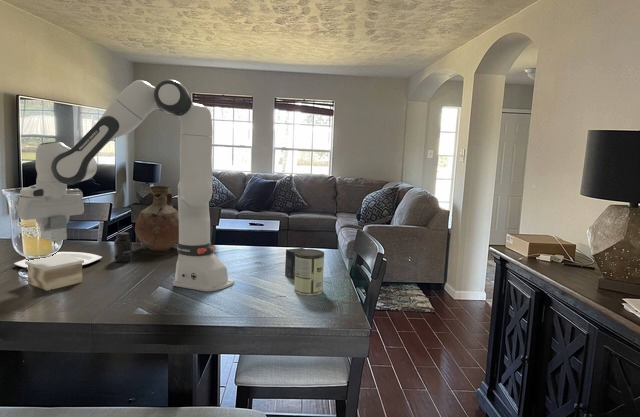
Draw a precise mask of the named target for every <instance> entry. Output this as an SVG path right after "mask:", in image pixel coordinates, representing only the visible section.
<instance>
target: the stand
mask: <svg viewBox="0 0 640 417" xmlns="http://www.w3.org/2000/svg"><path fill="white" fill-rule="evenodd" d="M82 263H84V260H82V259H78V258H75V257H72V256H68V255H65V254H63V255H57V256H51V257H46V258H40V259H34V260H29V261H25V264H27V265H28V269H27V280H28V281H27V282H28V284H29V285H31V286H33V287H36V288H39V289H42V290H44V291H51V289H52V290H54V289H55V290H56V289H59V288H63V287H68V286H72V285H76V284H80V283H83V265H82Z"/></svg>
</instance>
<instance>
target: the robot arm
mask: <svg viewBox="0 0 640 417" xmlns="http://www.w3.org/2000/svg"><path fill="white" fill-rule="evenodd" d="M156 110H159V111H161V112H164V113H166V114H168V115H171V116H177V118H178V119H179V122H180V131H179V132H180V135H179V140H180V141H179V182H178V184H177V209H178V210H177V211H178V216H179V241H178V242H177V246H176V249H177V251H176V252H177V254H178V256H177V261H176V266H175V275H174V280H173V282H172V286H174V287H179V288H184V289H189V290H196V291H201V292H214V291H220V290H222V289H226V288H228V287H231V286H232V285H234V284H235V280H234V279H232V278H230V277H229V276H228V275H229V274H228V269H227V266H226V265H225V264H224V263H223V262H222V261H221V260H220V259H219V257H217V255H216V254H215V252H214V250H215V248H216V247H217V246H216V245H215V246H214V245H212V242H211V218H210V215H211V214H210V203H209V202H210V201H211V199H212V196H213V164H212V162H213V134H214V132H213V131H214V130H213V120H212V119H213V118H212V113H211V110H210V109H209V107H207V106H206V105H203V104H200V103H195V102H193V101H192V99H191V96H190V92H189V91H188V90H187V88H186V87H185V86H184V84H182V83H181V82H179V81H177V80H175V79H169V78H168V79H163V80H162V81H160V82H158V84H156V86H154V85H152V84H151V83H149V82H148V81H146V80H142V79H137V80H135V81H133V82H131V83H130V84H129V85H127V86H126V87H125V88H124V89H123V90H122V91H121V92H120V93H119V94H118V95H117V96H116V97H115V98H114V99H113V100H112V102H111V103H110V104H109V105H108V107H107V109H105V111H104V113H102V115H101V116H100V118H99V119H98V120H97V122H96V123H95V124H94V126H92V128H90V129H89V130H88V131H87V133H86V134H85V135H84V136H82V138H81V139H80V140H78V142H77V143H76V144H75V145H74V146H73V147H69V146H68V145H66V144H65V143H64V142H61V141H49V142H42V143H40V144H39V145H38V146H37V148H36V151H35V170H36V173H37V174H36V179H35V180H36V182H35V183H36V184H34V185H30V186H28V187H24V188H22V189H20V191H19V195H20V196H21V197H20V198H19V200H18V202H17V216H18V218H19V219H20V220H23V221H28V220H35V222H36V223H37V225H38V226H39V232H41V231H42V232H44V231H47V226H44V225H43V223H42V222H43V218H48V217H56V216H66V228H68V227H67V224H68V223H69V221H70V219H71V218H70V217H71V216H77V215H83V214H84V213H85V205H84V198H83V197H84V194H83V191H82V190H81V189H79V188H68V185H76V184H78V183H80V182H84V181H87V180H90V179H91V178H93V177H94V176H95V175H96V174H97V171H98V163H97V161H96V159H95V157H96V156H97V155H98V154H99V153H100V151H101V150H102V149H104V147H106V145H107V144H108V143H110V142H111V141H113V140H114V139H117V138H120V137H123V136H126V135H128V134H131V133H132V132H133V131H134V130H136V128H138V127H139V126H140V125H141V124H142V123H143V121H144V120H145V119H146V118H147V117H148V116H149V114H151V113H152V112H153V111H156Z"/></svg>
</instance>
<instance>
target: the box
mask: <svg viewBox="0 0 640 417" xmlns="http://www.w3.org/2000/svg"><path fill="white" fill-rule="evenodd" d="M301 249H305V248H304V247H299V248H289V249H288V248H287V249H285V262H284V263H285V267H284V269H285V270H284V275H285V276H287V278H290V279H295V251H297V250H301Z"/></svg>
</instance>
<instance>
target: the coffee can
mask: <svg viewBox="0 0 640 417" xmlns="http://www.w3.org/2000/svg"><path fill="white" fill-rule="evenodd" d="M324 260H325V252H324V251H323V250H320V249H312V248H304V249H301V250H297V251H295V278H294V287H293V288H294V289H293V291H294V293H296V294H298V295H302V296H318V295H321V294H322V293H323V291H324V290H323V287H324V263H325V262H324Z"/></svg>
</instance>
